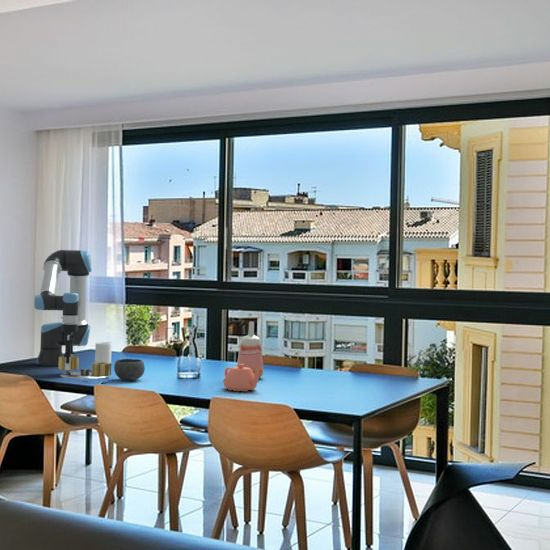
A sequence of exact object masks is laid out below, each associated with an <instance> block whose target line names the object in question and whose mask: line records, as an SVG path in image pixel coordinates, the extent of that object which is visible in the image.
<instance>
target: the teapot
mask: <svg viewBox="0 0 550 550" xmlns="http://www.w3.org/2000/svg"><path fill="white" fill-rule="evenodd" d="M261 368H262V367H261ZM261 368H257V369H256V371H255V375H254V373H253V372H252V370H251V369H250V368H248V367H244V364H238V367H237V366H233V367H231V366H230V367H229V366H228V367H226V368H225V370H224V379H222V380H223V381H222V382H223V386H224V388H225V389H226V390H227V389H228V390H227V391H230V390H233V391H232V392H239V391H244V392H249V391H248V390H252V391H254V390H255V389H256V388H257V385H258V383H259V380H260V378H259V371H260V369H261ZM253 389H254V390H253Z"/></svg>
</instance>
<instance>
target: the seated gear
mask: <svg viewBox="0 0 550 550" xmlns="http://www.w3.org/2000/svg"><path fill="white" fill-rule="evenodd" d="M90 368H91V371H90V372H91V375H92V376H101V377H103V378H105V377H104V376H108V377H110V376H112V362H111V363H108V362H95V361H94V362H91V367H90Z"/></svg>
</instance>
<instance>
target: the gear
mask: <svg viewBox="0 0 550 550" xmlns="http://www.w3.org/2000/svg"><path fill="white" fill-rule="evenodd" d="M70 357H71V369H70V370H71V371H77V370H79V364H80V363H79V362H80V361H79V360H80V359H79V358H80V357H79V356H76V355H75V356H74V355H73V356H70ZM57 369H58V370H60V371H62V370H63V371H66V370H65V357H64V355H63V356H61V357H59V365H58V368H57Z"/></svg>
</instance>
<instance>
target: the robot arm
mask: <svg viewBox="0 0 550 550" xmlns="http://www.w3.org/2000/svg"><path fill="white" fill-rule="evenodd" d="M91 256H92V255H91V253H90V252H89V251H87V250H83V249H81V250H79V249H75V250H73V249H69V250H68V249H59V250H56V251H54V252H52V253H51V254H49V256H47V258H46V259H45V260H44V263H43V267H42V268H43V271H44V272H43V278H42V283H41V288H40V293H39V294H36V295H35V296H34V302H33V303H34V309H35V310H36V311H37V310H39V311H62V316H61V317H60V319H61V320H62V321H59V322H56V321H55V322H49V323H44V324H42V325H41V326H40V327H41V328H40V347H39V349H40V350H39V353H38V356H37V358H36V365H37V366H46V367H55V366H58V365H59V357H61V356H64V357H65V370H64V371H66V370H70V369H71V357H70V356H74V355H75V352H74V347H86V346H87V345H88V343H89V338H90V334H91V333H90V332H91V325H89V323H88V320H86V298H87V296H86V293H87V278H88V276H90V273H91V272H92V271H93V268H92V267H93V266H92V258H91ZM61 272H67V273H66V274H67V276H68V277H69V292H64V293H63V294H62V295H57V294H56V293H57V286H58V281H59V275H60V274H61ZM63 346H64V347H65V349H64V353H63Z"/></svg>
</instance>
